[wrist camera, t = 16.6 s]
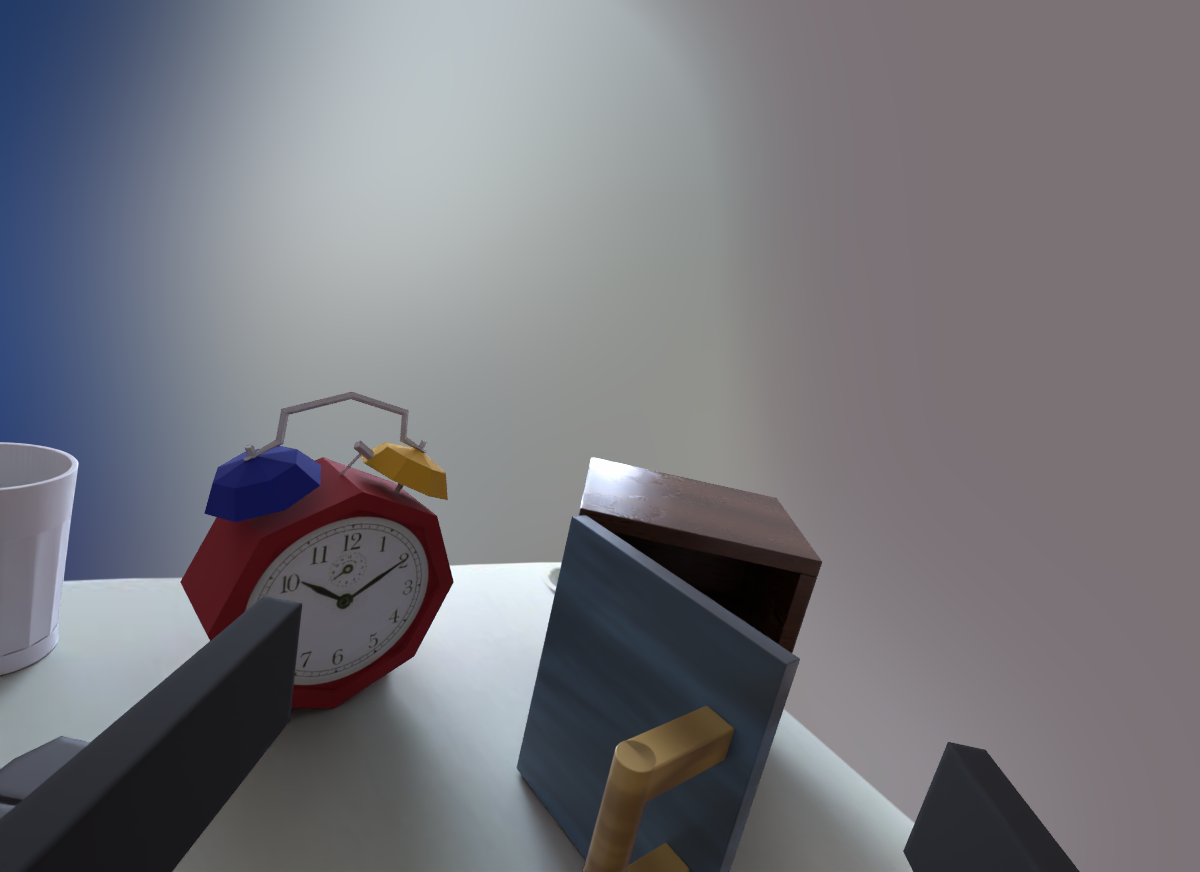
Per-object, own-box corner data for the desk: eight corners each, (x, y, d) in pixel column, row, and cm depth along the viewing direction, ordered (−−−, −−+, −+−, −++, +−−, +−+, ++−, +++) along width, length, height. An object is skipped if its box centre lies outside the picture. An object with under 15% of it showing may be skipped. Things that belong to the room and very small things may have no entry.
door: (580, 1074, 24) (687, 706, 20) (426, 804, 34) (477, 525, 30) (695, 974, 28) (800, 658, 24) (529, 762, 38) (585, 514, 35)
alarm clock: (199, 755, 34) (225, 404, 29) (164, 667, 40) (181, 361, 35) (438, 675, 45) (485, 408, 40) (384, 615, 50) (419, 375, 46)
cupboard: (742, 806, 39) (822, 561, 35) (524, 758, 39) (580, 508, 35) (717, 694, 50) (777, 497, 46) (546, 657, 50) (591, 456, 46)
